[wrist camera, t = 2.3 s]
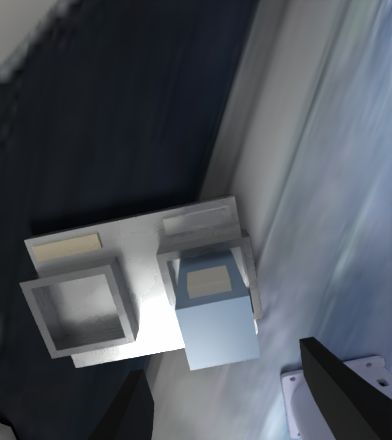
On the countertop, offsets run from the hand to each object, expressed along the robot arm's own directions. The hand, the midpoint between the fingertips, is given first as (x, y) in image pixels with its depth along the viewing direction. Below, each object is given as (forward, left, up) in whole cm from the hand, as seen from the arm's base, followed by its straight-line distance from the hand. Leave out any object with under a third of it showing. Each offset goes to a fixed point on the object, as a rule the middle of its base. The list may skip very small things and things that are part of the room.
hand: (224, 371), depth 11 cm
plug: (0, 0, -9) cm, 9 cm away
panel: (+5, 0, -10) cm, 11 cm away
